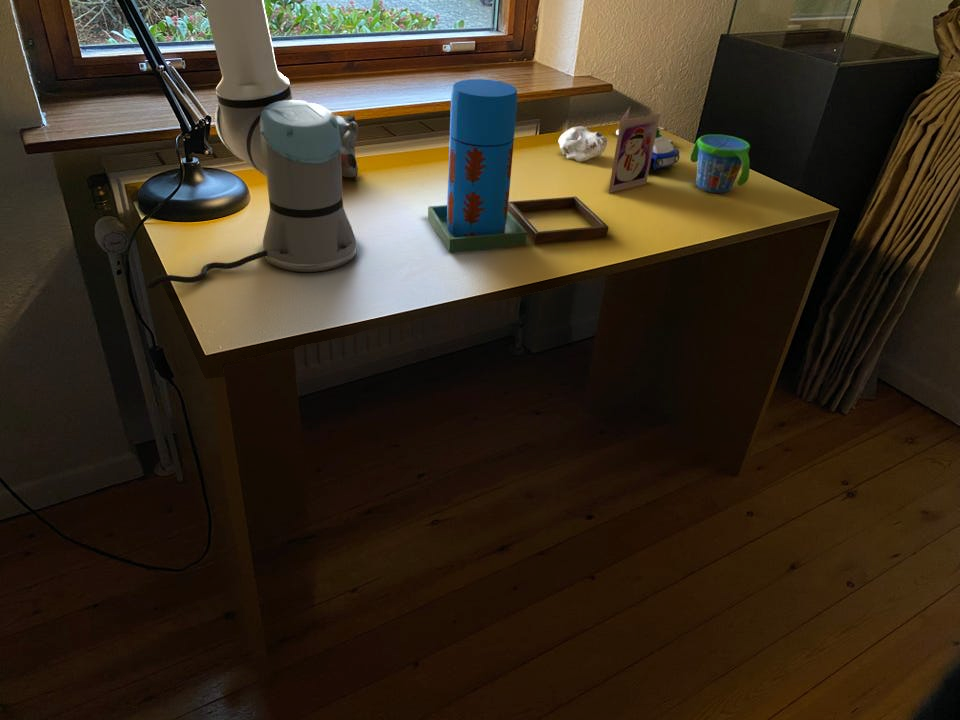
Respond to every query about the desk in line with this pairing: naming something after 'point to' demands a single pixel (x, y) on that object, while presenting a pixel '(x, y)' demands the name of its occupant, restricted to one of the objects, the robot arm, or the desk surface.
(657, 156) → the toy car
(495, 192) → the thermos
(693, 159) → the snack cup
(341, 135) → the lucky cat figurine
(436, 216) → the sage tray
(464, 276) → the desk surface
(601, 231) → the walnut frame
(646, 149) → the greeting card
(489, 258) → the desk surface
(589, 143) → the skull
